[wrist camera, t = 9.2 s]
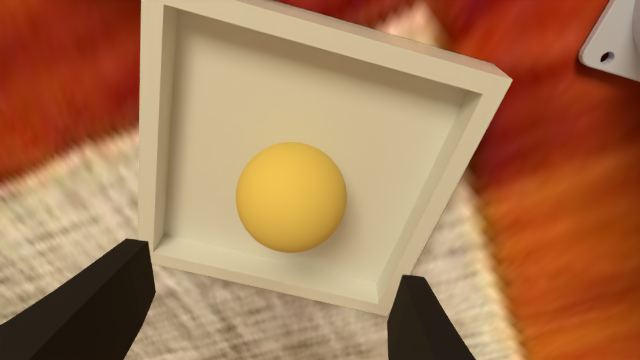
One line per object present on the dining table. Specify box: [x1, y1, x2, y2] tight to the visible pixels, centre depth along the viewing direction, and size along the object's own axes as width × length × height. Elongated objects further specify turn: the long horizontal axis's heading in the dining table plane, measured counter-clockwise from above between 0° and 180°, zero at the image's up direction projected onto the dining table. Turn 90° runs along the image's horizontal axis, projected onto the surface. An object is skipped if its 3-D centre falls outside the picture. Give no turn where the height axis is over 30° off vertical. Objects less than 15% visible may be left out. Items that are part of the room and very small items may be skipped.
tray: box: [138, 0, 512, 316], centre depth 19 cm, size 14×14×2 cm
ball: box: [236, 142, 347, 253], centre depth 17 cm, size 5×5×5 cm
